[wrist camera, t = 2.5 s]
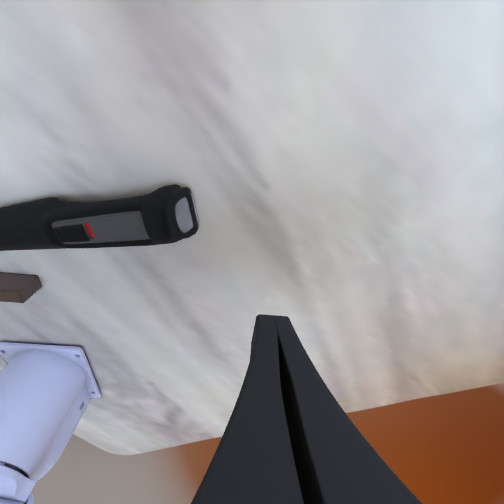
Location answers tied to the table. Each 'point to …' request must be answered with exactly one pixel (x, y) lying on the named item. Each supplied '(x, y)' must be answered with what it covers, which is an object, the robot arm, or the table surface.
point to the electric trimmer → (100, 222)
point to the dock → (17, 287)
